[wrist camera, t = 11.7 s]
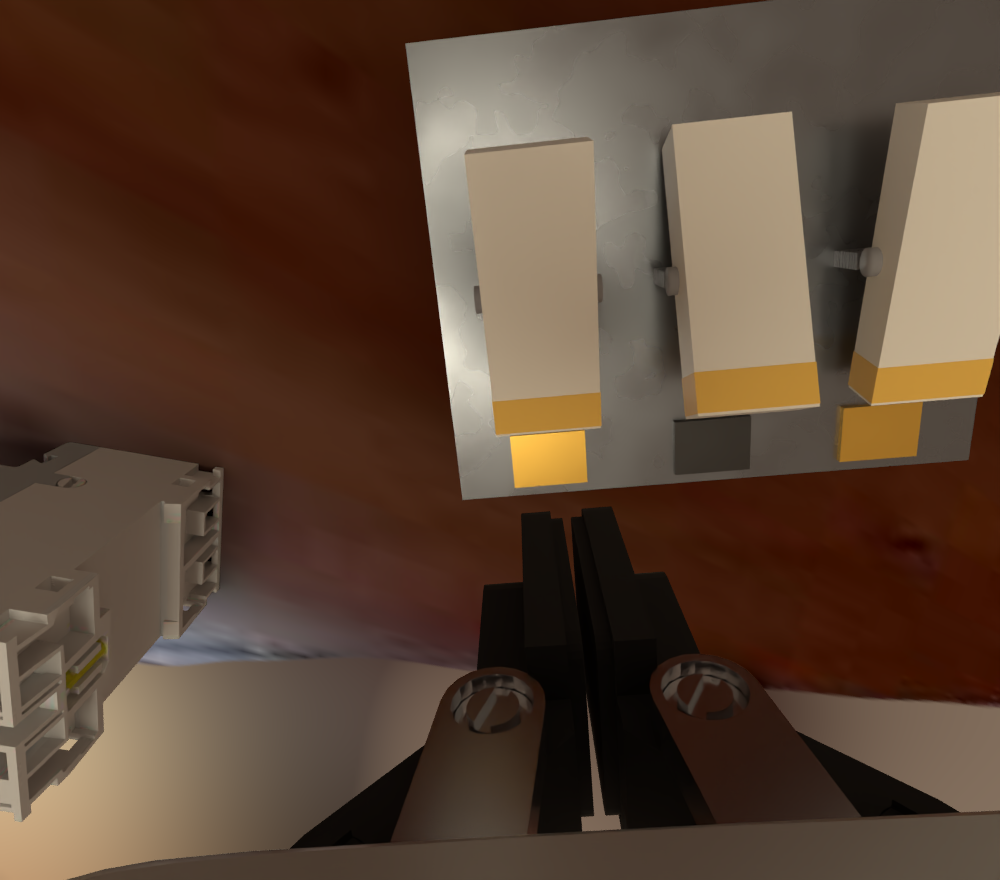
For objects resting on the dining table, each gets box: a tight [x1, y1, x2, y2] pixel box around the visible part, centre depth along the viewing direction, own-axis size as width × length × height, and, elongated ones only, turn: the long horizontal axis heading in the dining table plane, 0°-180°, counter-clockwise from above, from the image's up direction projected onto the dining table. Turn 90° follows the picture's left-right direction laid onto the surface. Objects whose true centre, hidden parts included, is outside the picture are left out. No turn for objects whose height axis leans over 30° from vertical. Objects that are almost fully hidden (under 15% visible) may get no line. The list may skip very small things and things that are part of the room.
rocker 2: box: [662, 112, 820, 419], centre depth 23 cm, size 10×5×2 cm, turn 6°
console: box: [406, 0, 1000, 500], centre depth 27 cm, size 18×22×7 cm
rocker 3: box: [848, 92, 1000, 406], centre depth 22 cm, size 10×5×2 cm, turn 5°
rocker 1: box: [464, 137, 603, 437], centre depth 23 cm, size 10×5×2 cm, turn 5°
